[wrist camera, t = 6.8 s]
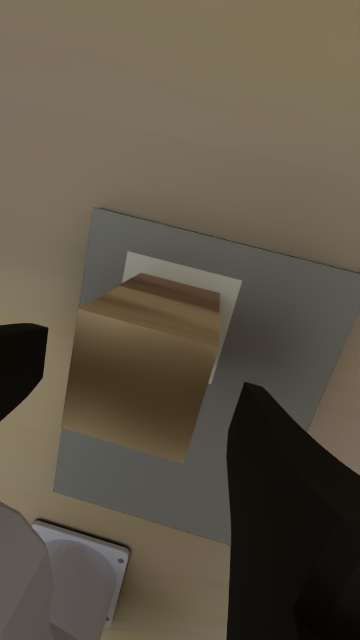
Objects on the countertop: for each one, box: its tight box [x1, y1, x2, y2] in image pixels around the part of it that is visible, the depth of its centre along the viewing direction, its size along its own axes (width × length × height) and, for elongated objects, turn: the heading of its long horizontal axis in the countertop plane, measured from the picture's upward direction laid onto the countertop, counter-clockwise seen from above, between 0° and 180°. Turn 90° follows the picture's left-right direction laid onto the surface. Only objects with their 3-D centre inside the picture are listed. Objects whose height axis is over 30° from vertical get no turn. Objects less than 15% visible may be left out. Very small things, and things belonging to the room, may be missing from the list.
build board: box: [53, 207, 360, 545], centre depth 20 cm, size 20×15×1 cm
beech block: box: [61, 286, 220, 464], centre depth 12 cm, size 4×4×4 cm
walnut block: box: [118, 273, 220, 313], centre depth 16 cm, size 4×4×4 cm
